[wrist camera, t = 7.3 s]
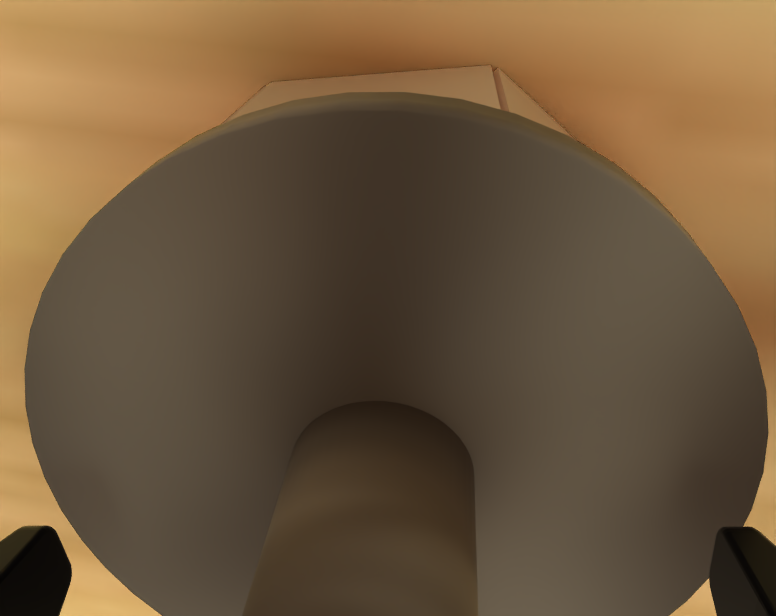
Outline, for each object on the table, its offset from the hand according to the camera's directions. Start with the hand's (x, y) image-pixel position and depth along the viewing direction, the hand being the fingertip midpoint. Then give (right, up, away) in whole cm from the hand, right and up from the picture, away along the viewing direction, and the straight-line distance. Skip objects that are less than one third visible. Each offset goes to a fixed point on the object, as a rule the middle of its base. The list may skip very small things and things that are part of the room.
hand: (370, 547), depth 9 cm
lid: (0, +1, +2) cm, 2 cm away
